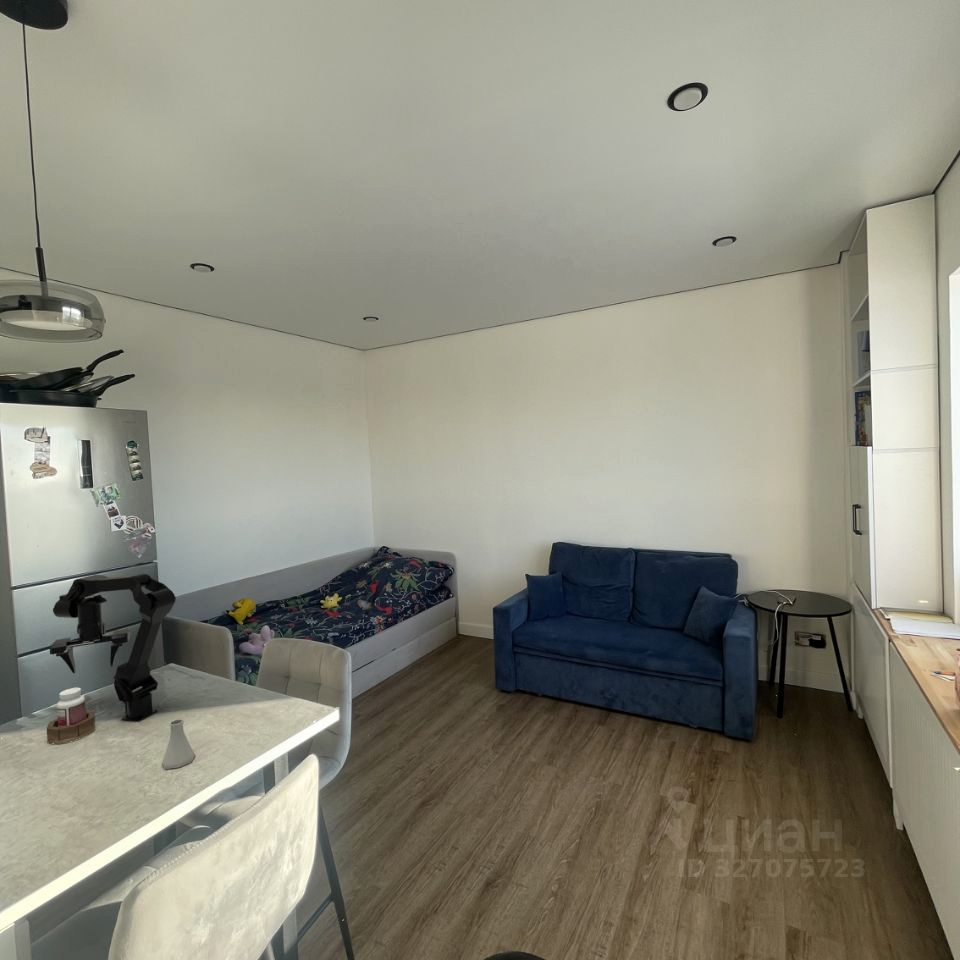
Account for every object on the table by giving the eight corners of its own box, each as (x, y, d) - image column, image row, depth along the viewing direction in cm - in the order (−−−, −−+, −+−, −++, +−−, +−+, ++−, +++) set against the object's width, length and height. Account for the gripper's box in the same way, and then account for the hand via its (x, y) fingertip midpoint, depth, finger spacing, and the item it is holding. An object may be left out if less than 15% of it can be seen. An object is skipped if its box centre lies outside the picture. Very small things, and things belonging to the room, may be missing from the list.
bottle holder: (104, 726, 146) (104, 712, 146) (67, 746, 136) (67, 731, 136) (76, 723, 148) (75, 709, 148) (37, 742, 138) (36, 728, 138)
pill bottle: (89, 722, 146) (87, 684, 146) (83, 732, 141) (81, 692, 140) (62, 728, 143) (59, 689, 143) (55, 738, 138) (52, 698, 138)
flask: (160, 773, 122) (157, 732, 121) (162, 758, 128) (160, 719, 128) (195, 764, 125) (192, 724, 125) (195, 750, 131) (193, 711, 131)
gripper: (131, 606, 165) (134, 654, 166) (58, 616, 157) (61, 667, 157) (125, 615, 155) (129, 666, 156) (47, 626, 147) (51, 680, 147)
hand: (93, 669), depth 154 cm, fingers open, 9 cm apart
